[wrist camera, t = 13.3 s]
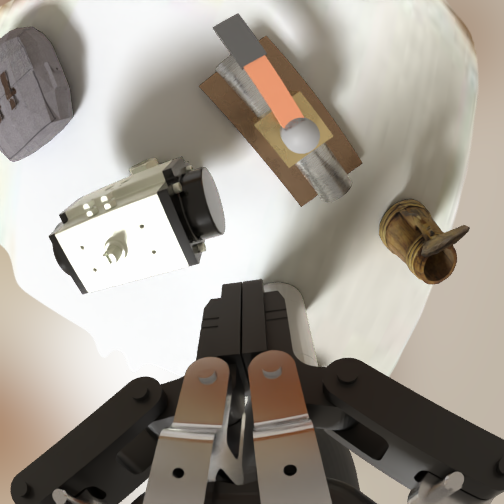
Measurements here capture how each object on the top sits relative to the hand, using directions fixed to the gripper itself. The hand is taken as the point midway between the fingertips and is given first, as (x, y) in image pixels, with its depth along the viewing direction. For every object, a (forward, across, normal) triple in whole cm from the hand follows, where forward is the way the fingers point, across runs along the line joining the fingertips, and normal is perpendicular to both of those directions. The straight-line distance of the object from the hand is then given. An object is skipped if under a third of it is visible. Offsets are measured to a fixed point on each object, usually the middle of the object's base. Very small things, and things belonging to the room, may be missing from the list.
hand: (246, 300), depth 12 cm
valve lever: (+19, -3, -8) cm, 21 cm away
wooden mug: (+29, -21, +12) cm, 38 cm away
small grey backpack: (+29, +29, -18) cm, 45 cm away
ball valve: (+29, +12, +2) cm, 32 cm away
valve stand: (+29, -5, -3) cm, 30 cm away
